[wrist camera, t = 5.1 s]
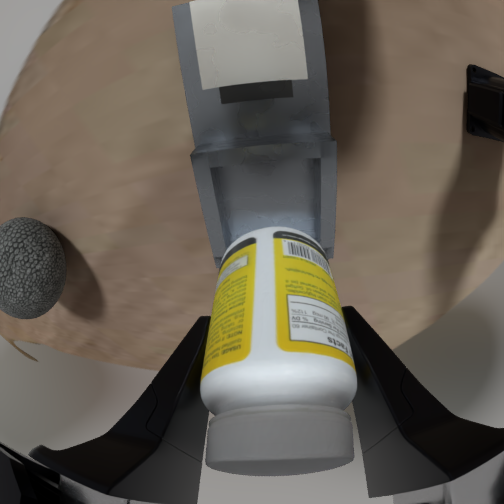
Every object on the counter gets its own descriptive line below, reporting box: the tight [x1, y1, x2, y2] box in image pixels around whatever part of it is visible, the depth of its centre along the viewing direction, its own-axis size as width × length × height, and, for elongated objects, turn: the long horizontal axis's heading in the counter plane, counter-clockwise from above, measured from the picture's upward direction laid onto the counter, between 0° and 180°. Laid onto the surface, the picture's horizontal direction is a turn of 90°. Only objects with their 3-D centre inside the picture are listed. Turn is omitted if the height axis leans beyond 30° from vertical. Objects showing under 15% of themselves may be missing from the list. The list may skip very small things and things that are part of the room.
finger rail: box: [172, 0, 337, 268], centre depth 17 cm, size 9×29×8 cm, turn 7°
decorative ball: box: [0, 217, 66, 319], centre depth 19 cm, size 10×10×10 cm
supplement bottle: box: [200, 227, 357, 476], centre depth 9 cm, size 5×5×8 cm
